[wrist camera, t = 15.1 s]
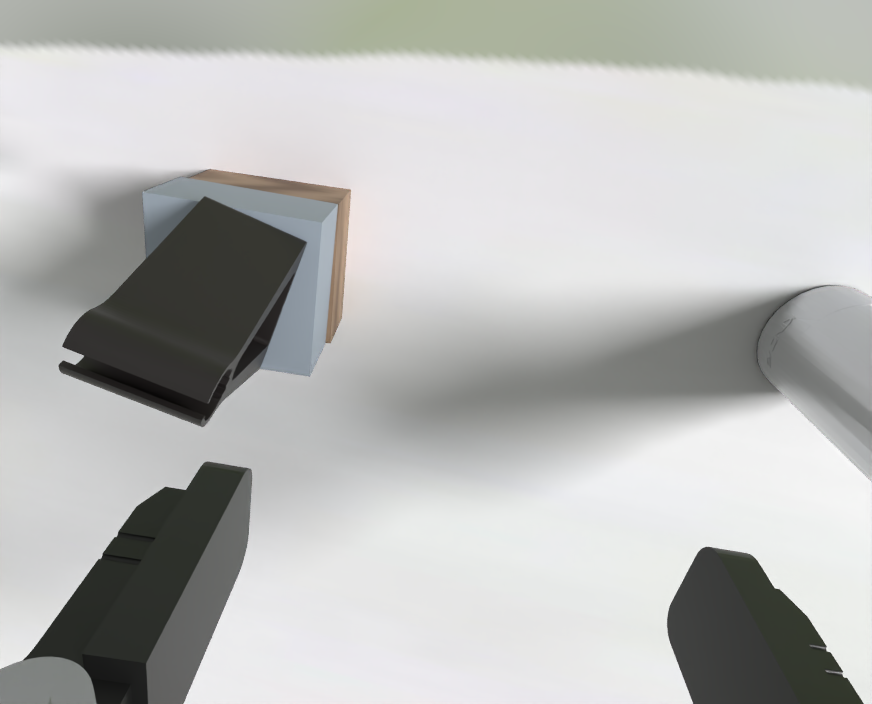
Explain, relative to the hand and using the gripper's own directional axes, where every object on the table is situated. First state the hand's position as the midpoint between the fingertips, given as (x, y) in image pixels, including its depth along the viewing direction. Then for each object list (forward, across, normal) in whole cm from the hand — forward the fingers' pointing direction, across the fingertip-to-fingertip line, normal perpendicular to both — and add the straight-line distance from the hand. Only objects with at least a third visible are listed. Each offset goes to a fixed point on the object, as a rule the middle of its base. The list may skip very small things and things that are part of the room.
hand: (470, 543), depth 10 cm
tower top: (+29, +12, +7) cm, 33 cm away
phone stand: (+25, +12, +6) cm, 28 cm away
